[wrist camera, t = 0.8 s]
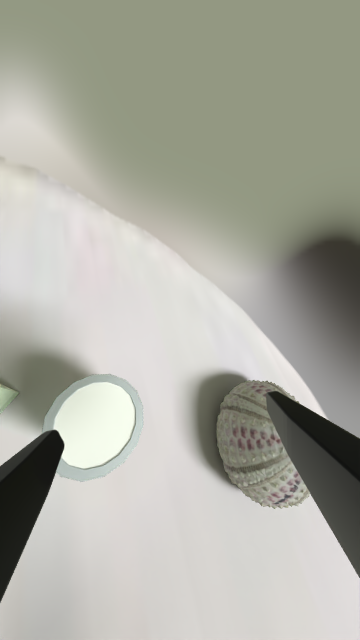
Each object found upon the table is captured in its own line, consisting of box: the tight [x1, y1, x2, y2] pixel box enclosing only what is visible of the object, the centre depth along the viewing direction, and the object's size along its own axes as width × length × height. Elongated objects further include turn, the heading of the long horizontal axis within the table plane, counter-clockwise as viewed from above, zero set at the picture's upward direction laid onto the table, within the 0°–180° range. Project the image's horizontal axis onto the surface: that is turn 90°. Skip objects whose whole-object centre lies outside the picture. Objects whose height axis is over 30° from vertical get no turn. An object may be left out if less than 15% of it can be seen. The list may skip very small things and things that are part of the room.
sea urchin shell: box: [216, 380, 310, 509], centre depth 22 cm, size 13×14×8 cm
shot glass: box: [42, 374, 143, 482], centre depth 16 cm, size 7×7×7 cm
